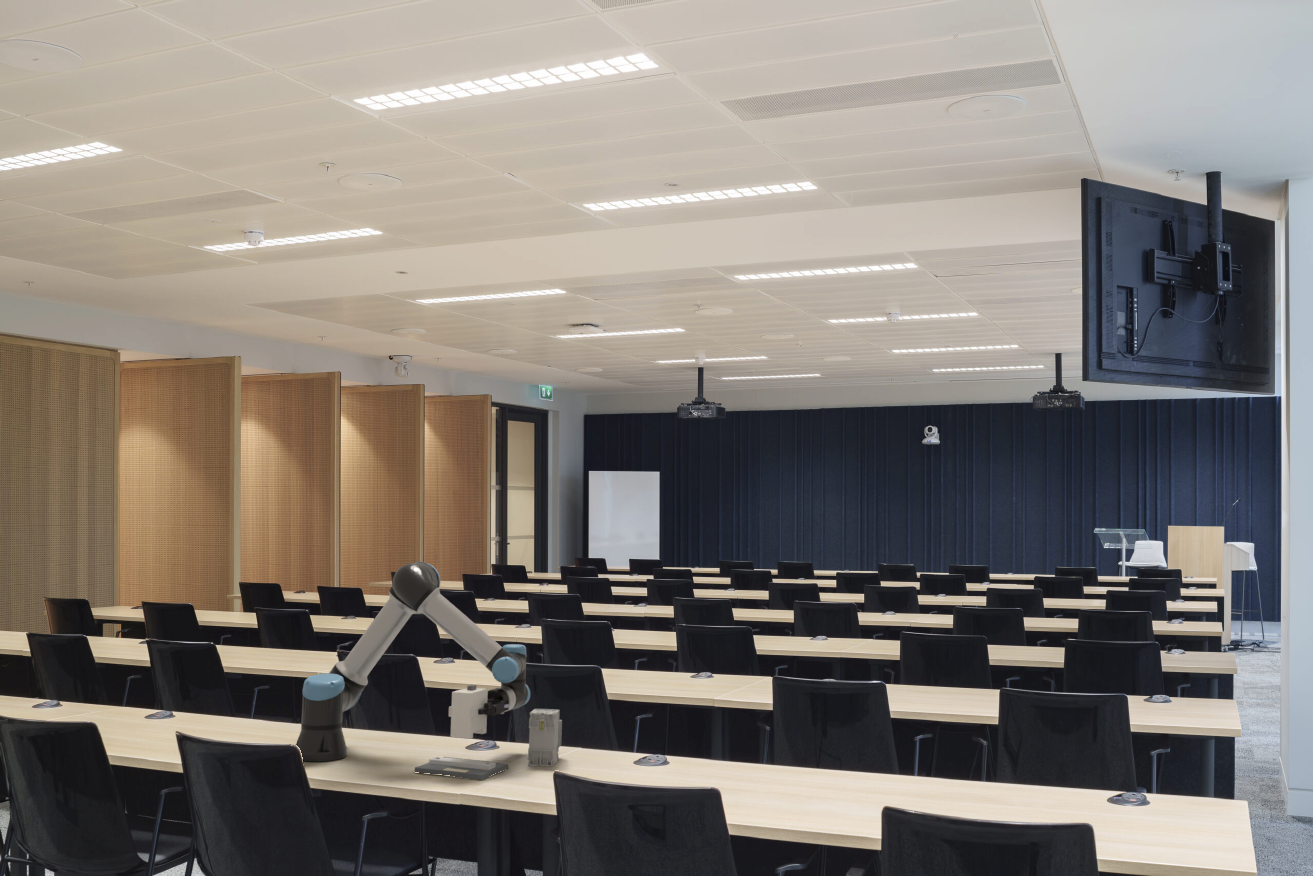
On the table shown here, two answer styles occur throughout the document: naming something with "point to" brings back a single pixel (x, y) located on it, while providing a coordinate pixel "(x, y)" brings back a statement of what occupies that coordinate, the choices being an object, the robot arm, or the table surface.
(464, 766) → the panel
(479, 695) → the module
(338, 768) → the table surface
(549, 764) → the circuit breaker
